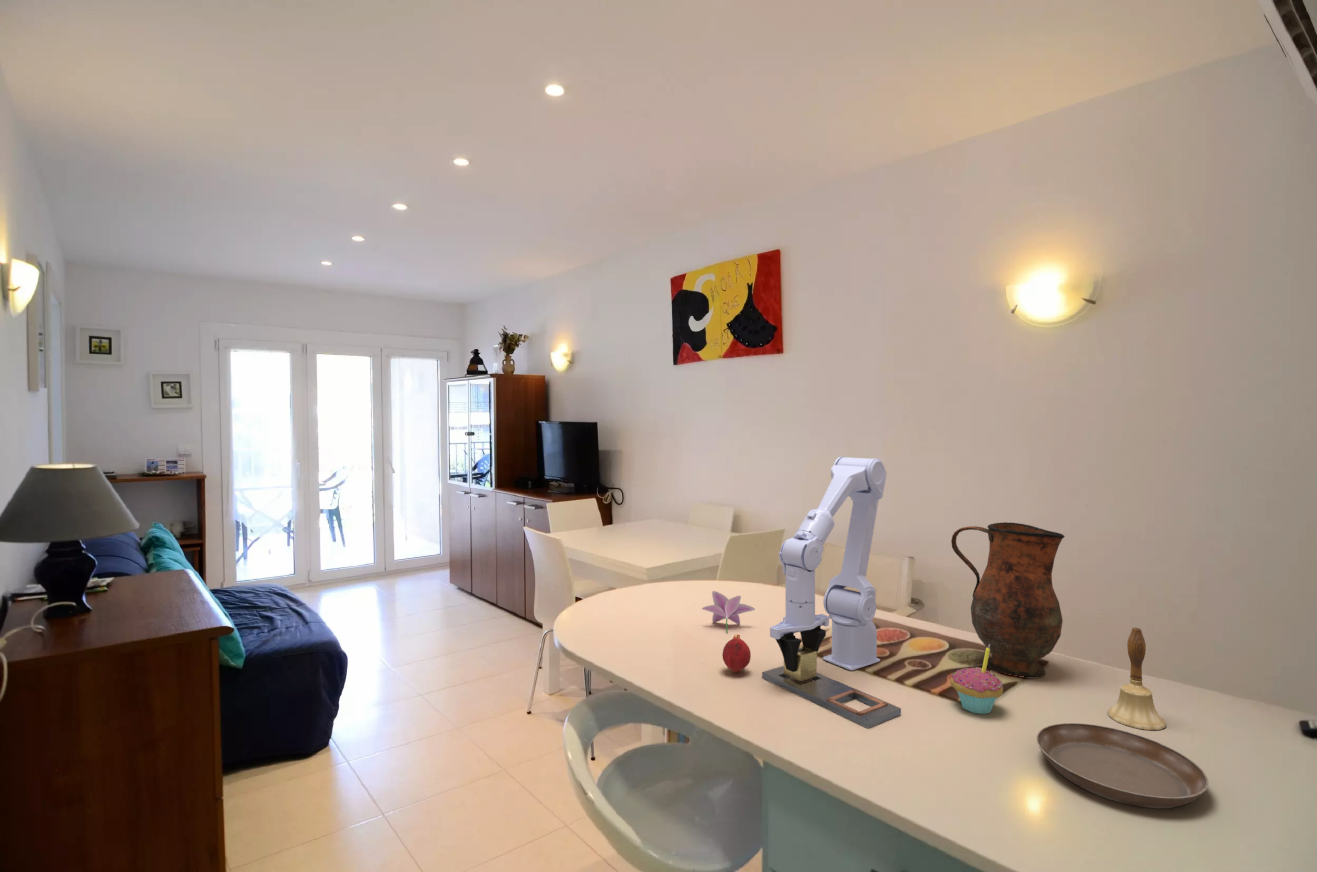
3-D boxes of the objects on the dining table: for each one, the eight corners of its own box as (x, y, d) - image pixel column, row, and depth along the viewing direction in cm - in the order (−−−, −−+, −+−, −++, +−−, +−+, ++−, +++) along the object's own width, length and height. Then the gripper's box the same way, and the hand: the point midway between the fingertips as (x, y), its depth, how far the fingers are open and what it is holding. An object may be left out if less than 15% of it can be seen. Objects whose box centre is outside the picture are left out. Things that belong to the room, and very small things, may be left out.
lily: (761, 634, 163) (757, 595, 168) (738, 626, 154) (734, 586, 159) (719, 641, 169) (716, 603, 174) (695, 634, 160) (692, 595, 165)
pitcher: (1056, 692, 126) (1059, 536, 125) (939, 666, 139) (941, 525, 138) (1067, 666, 139) (1069, 524, 138) (959, 644, 152) (961, 515, 151)
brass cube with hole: (799, 668, 134) (799, 644, 134) (816, 675, 130) (816, 650, 130) (783, 673, 131) (783, 648, 131) (800, 681, 128) (800, 655, 127)
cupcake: (998, 702, 122) (999, 637, 121) (1006, 722, 114) (1007, 653, 113) (948, 695, 125) (948, 632, 124) (952, 715, 117) (953, 648, 116)
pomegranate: (749, 679, 132) (749, 639, 132) (721, 676, 134) (721, 637, 133) (751, 668, 138) (751, 630, 138) (724, 666, 139) (724, 628, 139)
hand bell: (1096, 713, 117) (1098, 624, 117) (1126, 705, 120) (1127, 619, 120) (1146, 734, 109) (1148, 639, 109) (1177, 725, 113) (1179, 632, 112)
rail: (793, 668, 138) (794, 661, 138) (900, 714, 117) (901, 706, 117) (762, 677, 133) (762, 670, 133) (867, 728, 112) (867, 720, 112)
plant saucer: (1211, 773, 98) (1211, 751, 98) (1204, 840, 82) (1204, 814, 82) (1052, 729, 112) (1052, 710, 112) (1020, 780, 96) (1021, 757, 96)
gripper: (810, 589, 138) (810, 653, 138) (759, 600, 129) (759, 668, 130) (837, 596, 132) (837, 663, 132) (784, 609, 124) (784, 680, 124)
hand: (800, 667), depth 131 cm, fingers closed on brass cube with hole, 4 cm apart
